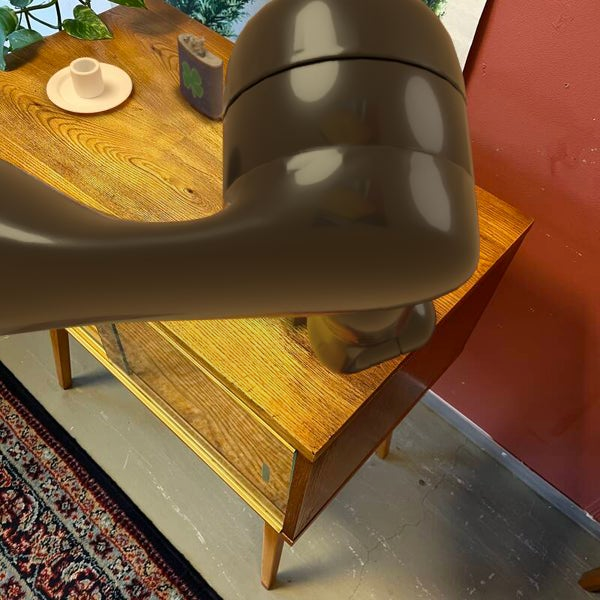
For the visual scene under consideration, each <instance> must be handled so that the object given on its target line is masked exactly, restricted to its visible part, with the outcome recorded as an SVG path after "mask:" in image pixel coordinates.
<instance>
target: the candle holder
mask: <svg viewBox="0 0 600 600" xmlns="http://www.w3.org/2000/svg"><path fill="white" fill-rule="evenodd" d="M132 89H133V81H132V79H131V77H130V75H129V74H128V73H127V72H126V71H125V70H123V69H121V68H120V67H118V66H116V65H113V64H109V63H107V62H106V63H105V62H99V61H98V60H97V59H95V58H93V57H88V56H87V57H85V56H84V57H79V58H76V59H74V60H72V61H71V62H70V64H69V65H68V66H66V67H63V68H62V69H60V70H57V72H55V73H54V74H53V75H52V76H51V77H50V78H49V80H48V81H47V84H46V94H47V98H48V99H49V100H50V101H51V102H52V104H54V105H56V107H59V108H61V109H63V110H66V111H69V112H73V113H81V114H91V113H93V114H94V113H99V112H104V111H107V110H110V109H114V108H115V107H117V106H119V105H121V104H122V103H124V101H126V100H127V98H128V97H129V96H130V95H131V93H132V91H133V90H132Z"/></svg>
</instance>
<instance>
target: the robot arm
mask: <svg viewBox="0 0 600 600" xmlns="http://www.w3.org/2000/svg"><path fill="white" fill-rule="evenodd" d="M225 71H226V72H225V76H224V83H223V110H222V206H221V208H222V209H221V210H219V211H218V212H215V213H213V214H211V215H209V216H204V217H199V218H193V219H187V220H174V221H173V220H172V221H144V220H136V219H130V218H122V217H120V216H116V215H114V214H112V213H110V212H109V213H108V212H106V211H103V210H101V209H98V208H96V207H93V206H91V205H88V204H86V203H84V202H82V201H80V200H78V199H75V198H74V197H72V196H70V195H69V194H67V193H65V192H63V191H62V190H60V189H58V188H57V187H55V186H53V185H51V184H49V183H47V182H46V181H45V180H42V179H41V178H39V177H38V176H35V175H34V174H33V173H31V172H29V171H27V170H26V169H23V168H22V167H19V166H17V165H16V164H14V163H12V162H10V161H8V160H6V159H4V158H1V157H0V337H2V336H3V337H4V336H12V335H19V334H27V333H28V334H29V333H36V332H45V331H46V332H47V331H53V330H63V329H70V328H80V327H90V326H103V325H116V324H131V323H132V324H133V323H134V324H135V323H157V322H160V323H161V322H188V321H190V322H191V321H220V320H221V321H222V320H252V319H253V320H255V319H282V318H283V319H286V318H287V319H289V318H290V319H291V318H292V317H307V323H306V330H307V336H308V340H309V343H310V346H311V349H312V350H313V353H314V355H315V356H316V358H317V360H318V361H319V363H320V364H321V365H322V366H323V367H324V368H325V369H327V370H328V371H329V372H331V373H332V374H335V375H339V376H351V375H355V374H359V373H362V372H364V371H367V370H369V369H371V368H374V367H377V366H380V365H381V364H384V363H386V362H390V361H392V360H394V359H396V358H400V357H401V356H404V355H405V356H406V355H407V354H410V353H412V352H415V351H417V350H420V349H422V348H424V347H425V346H426V345H428V344H429V342H431V340H432V339H433V337H434V335H435V332H436V329H437V321H438V318H437V309H436V307H435V303H434V301H437V300H438V299H441V298H443V297H445V296H447V295H449V294H452V293H454V292H455V291H457V290H458V289H460V288H461V287H463V286H464V285H465V284H467V283H468V281H470V279H471V278H472V277H473V276H474V274H475V273H476V271H477V269H478V267H479V262H480V257H481V233H480V232H481V231H480V220H479V209H478V198H477V193H476V187H475V186H476V177H475V169H474V168H475V167H474V158H473V147H472V139H471V138H472V137H471V127H470V121H469V110H468V102H467V91H466V85H465V78H464V74H463V70H462V66H461V63H460V60H459V57H458V53H457V51H456V48H455V44H454V41H453V39H452V36H451V34H450V33H449V31H448V30H447V28H446V27H445V25H444V23H443V22H442V20H441V19H440V17H439V16H438V14H437V13H436V12H434V11H433V10H432V9H431V8H430V7H429V6H428V4H426V3H425V2H424V1H423V0H270V1H269V2H267V3H265V4H264V5H263V6H262V7H261V8H260V9H259V10H258V11H256V13H255V14H254V15H253V16H251V18H250V19H249V20H248V21H247V22H246V24H245V25H244V26H243V28H242V29H241V31H240V33H239V35H238V36H237V37H236V40H235V41H234V44H233V47H232V50H231V53H230V55H229V59H228V62H227V65H226V70H225Z"/></svg>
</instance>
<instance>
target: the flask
mask: <svg viewBox="0 0 600 600" xmlns="http://www.w3.org/2000/svg"><path fill="white" fill-rule="evenodd" d="M176 41H177V42H176V43H177V54H178V55H177V57H178V72H179V73H178V76H179V94H180V96H181V97H182V98H183V100H184V101H185V102H186V103H187V104H188V105H189V106H190V107H191V108H193V109H194V110H195V111H197V112H198V113H199V114H201V115H202V116H203V117H205V118H206V119H209V120H211V121H214V122H216V121H220V120H221V119H222V110H223V95H224V61H223V59H222V58H221V57H219V56H217V55H216V54H215V53H212V52H211V51H209V50H208V49H207V48H205V46H204V45H205V44H204V43H205V42H206V39H205V36H201V38H199V36H198V35H197V36H195V35H193V34H191V33H188V32H183V33H180V34H179V35H178V36H177V38H176Z"/></svg>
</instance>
